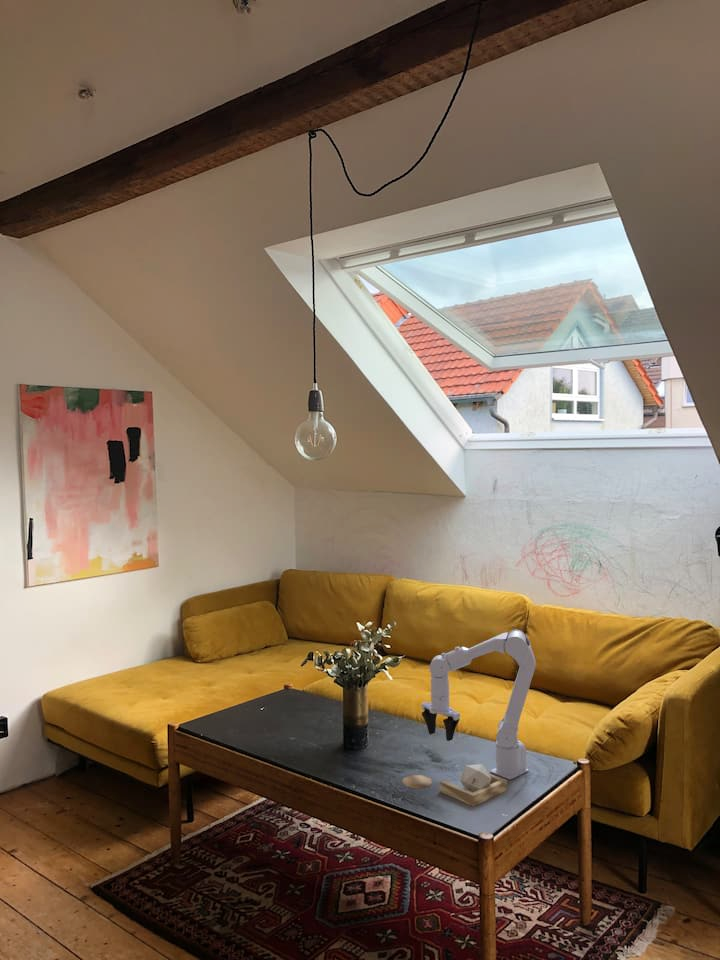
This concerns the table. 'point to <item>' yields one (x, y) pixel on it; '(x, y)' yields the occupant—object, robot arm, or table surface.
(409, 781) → the coaster
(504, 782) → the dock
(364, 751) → the table surface
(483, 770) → the die
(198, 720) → the table surface
